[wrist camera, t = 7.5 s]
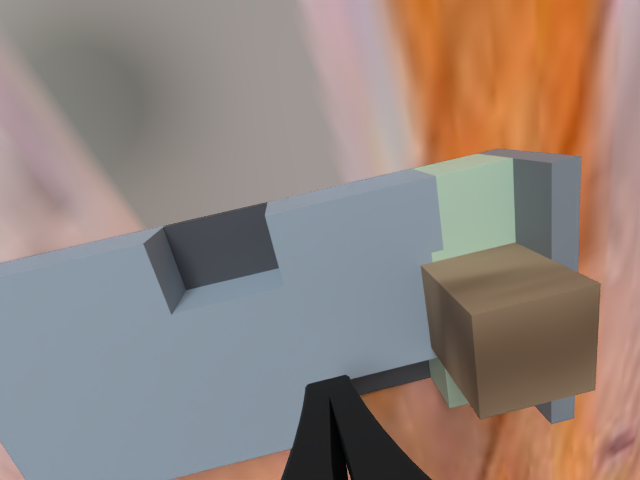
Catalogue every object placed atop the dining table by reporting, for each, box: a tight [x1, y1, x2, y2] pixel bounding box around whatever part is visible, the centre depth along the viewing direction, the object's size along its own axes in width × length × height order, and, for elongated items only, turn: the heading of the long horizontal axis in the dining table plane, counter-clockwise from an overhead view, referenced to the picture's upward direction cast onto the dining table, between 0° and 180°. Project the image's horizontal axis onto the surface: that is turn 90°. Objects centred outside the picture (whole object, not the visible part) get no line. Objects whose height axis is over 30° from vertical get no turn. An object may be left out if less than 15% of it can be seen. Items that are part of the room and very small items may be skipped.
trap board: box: [0, 149, 581, 480], centre depth 15 cm, size 24×11×4 cm, turn 102°
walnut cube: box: [421, 242, 600, 419], centre depth 13 cm, size 4×4×4 cm
